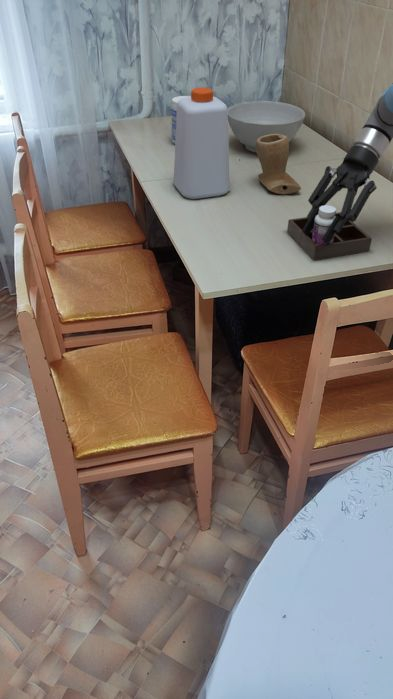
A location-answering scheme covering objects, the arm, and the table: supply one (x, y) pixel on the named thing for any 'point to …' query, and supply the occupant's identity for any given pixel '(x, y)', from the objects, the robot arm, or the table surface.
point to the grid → (343, 243)
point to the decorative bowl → (264, 120)
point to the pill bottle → (323, 223)
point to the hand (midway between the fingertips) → (314, 237)
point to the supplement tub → (175, 115)
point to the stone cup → (275, 164)
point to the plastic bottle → (201, 146)
